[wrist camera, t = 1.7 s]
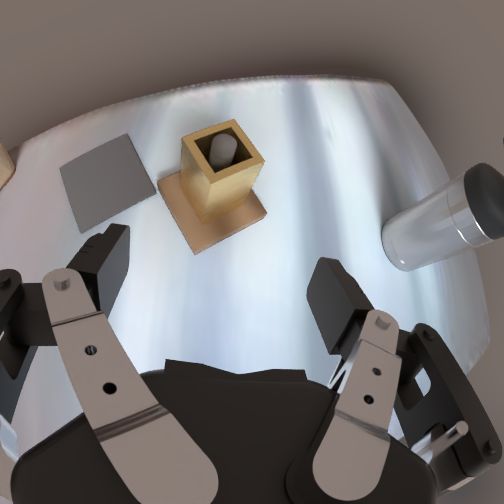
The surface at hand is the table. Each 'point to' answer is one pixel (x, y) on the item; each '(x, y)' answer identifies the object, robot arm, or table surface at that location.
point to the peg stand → (221, 226)
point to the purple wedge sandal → (5, 166)
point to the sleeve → (223, 182)
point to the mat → (105, 182)
